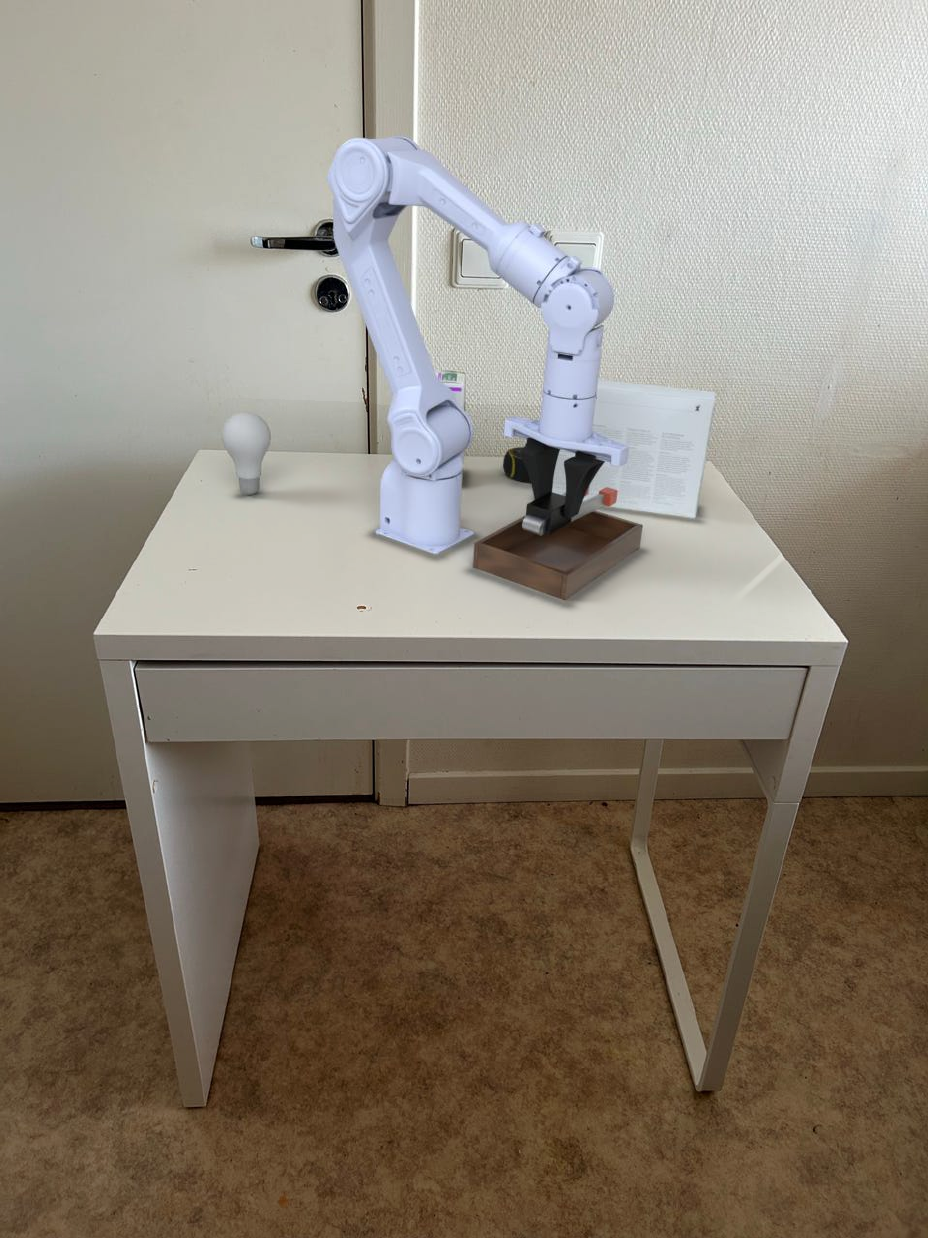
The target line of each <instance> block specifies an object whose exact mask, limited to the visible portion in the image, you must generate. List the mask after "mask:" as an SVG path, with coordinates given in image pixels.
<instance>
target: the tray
mask: <svg viewBox="0 0 928 1238" xmlns="http://www.w3.org/2000/svg"><path fill="white" fill-rule="evenodd" d="M525 516H526V514H525V515H523V516H521V517H520V518H518V519H516V520H514V521H512V522H511V523H509V524H507V525H504V526H503V527H501V528H499V529H498V530H496V531H493V532H492V533H491V534H488V535H487V536H485V537H483V538H481V539H479V540H477V541H475V542H474V544H473V557H472V559H473V560H472V568H474V569H476V570H479V571H482V572H485V573H488V574H490V575H493V576H495V577H498V578H501V579H505V580H506V581H509V582H513V583H514V584H518V585H521V586H524V587H526V588H529V589H532V590H534V591H537V592H540V593H543V594H544V595H545V594H546V595H548V596H551V597H553V598H557V599H559V600H562V601H566V600H567V599H569V598H570V597H572V596H573V595H575V594H577V593H578V592H579V591H581V590H582V589H583V588H585V587H586V586H588V585H589V584H590V583H592V582H594V581H595V580H597V578H599V577H601V576H602V575H603V574H605V573H606V572H608V571H609V570H611V569H612V568H613V567H615V566H617V565H618V564H619V563H620V562H622V561H623V560H625V559H626V558H628V557H629V556H631V555H632V554H634V553H635V552H636V551H638V550H639V549H640V547H641V540H642V534H643V533H642V532H643V529H644V528H643V527H644V526H643V524H641V523H638V522H635V521H630V520H628V519H625V518H621V517H619V516H615V515H612V514H609V513H605V512H602V511H598V510H595V511H593V512H591V513H589V514H587V515H584V516H582V517H580V518H578V519H576V520H574V521H572V522H570V523H569V524H567V525H565V526H563V527H562V528H560V529H558V530H557V531H555V532H553V533H552V534H550V535H547V534H544V535H542V536H540V535H537V534H534V533H531V532H528V531H525V530H523V528H522V523H523V520H524V518H525Z"/></svg>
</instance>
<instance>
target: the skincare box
mask: <svg viewBox="0 0 928 1238" xmlns="http://www.w3.org/2000/svg"><path fill="white" fill-rule="evenodd" d="M716 398H717V392H716V391H713V390H703V389H702V390H700V389H693V388H683V387H675V386H666V385H665V386H664V385H655V384H647V383H636V382H627V381H618V380H608V379H607V380H606V379H599V380H598V388H597V396H596V404H595V412H594V421H593V429H592V431H594V432H596V433H598V434H600V435H603V436H605V437H607V438H609V439H612V440H614V441H616V442H619V443H622V444H625V445H628V446H629V452H628V459H627V463H626V464H624V465H622V466H620V467H615V466H611V465H610V463H609V462H604V464H603V465H602V466H601V468H600V469H599V471H598V472H597V474H596V475H595V477H594V478H593V480H592V482H591V484H590V486H589V494H588V495H586V496H585V497H584V499H583V501H582V502H584V501H586V500H588V499H590V498H592V497H594V496H596V495H598V494H599V491H600V490H602V489H604V488H605V487H608V488H612V489H615V490H618V494H617V501H616V503H615V504H613V505H611V506H610V508H611V507H612V508H619V509H626V510H634V511H641V512H649V513H656V514H664V515H670V516H678V517H685V518H692V519H696V518H697V513H698V508H699V502H700V497H701V490H702V485H703V479H704V472H705V468H706V467H705V466H706V461H707V455H708V450H709V449H708V448H709V443H710V436H711V431H712V423H713V417H714V411H715V405H716ZM571 457H575V453H572V452H569V451H565V450H562V449H560V452H559V455H558V459H557V463H556V467H555V471H554V477H553V488H552V492H553V493H557V494H560V495H562V494H564V493H565V492H566V476H565V469H564V461H565V460H567V459H569V458H571Z"/></svg>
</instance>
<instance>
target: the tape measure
mask: <svg viewBox="0 0 928 1238" xmlns="http://www.w3.org/2000/svg"><path fill="white" fill-rule="evenodd" d="M523 447H524V446H519V447H518V446H517V447H512V448H509V449H508V450H507V451H506V452H505V455H504V456H503V461H502V467H503V471H504V473H505V475H506V476H507V477H509V478H511V479H513V480H515V481H519V482H524V483H531V480H530V477H529V474H528V471H527V469H526V466H525V464H524V462H523V460H522V458H521V457H520V449H521V448H523Z"/></svg>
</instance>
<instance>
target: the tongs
mask: <svg viewBox="0 0 928 1238" xmlns="http://www.w3.org/2000/svg"><path fill="white" fill-rule="evenodd" d="M588 494H589V488H588V490H587V492H586V494H585V496H586V495H588ZM617 494H618V490H615V489H612V488H608V487H605V488H604V489H602V490H600V491H599V494H598V495H596V496H594V497H592V498H590V499H588V500H586V501H584V502H582V504H581V507H580V510H579V513H578V515H576V516H574V517H572V518H571V519H568V518H565V517H564V505H565V497H566V492H565V493H564V494H562V495H560V494H557V493H553V492H549V493H547V494H545V495H543V496H541V497H539V498H537V499H535V500H534V499H533V500H532V501H530V502H527V503H526V507H525V515H526V516H525V515H524V516H525V518H524V520H523V523H522V528H523V530H525V531H528V532H531V533H534V534H537V535H540V536H542V535H544V534H547V535H550V534H552V533H553V532H555V531H557V530H558V529H560V528H562V527H563V526H565V525H567V524H569V523H570V522H572V521H574V520H576V519H578V518H580V517H582V516H584V515H587V514H589V513H591V512H593V511H598V509H601V508H602V507H608V508H609V507H610V508H611V505H613V504H615V503H616V501H617ZM585 496H584V497H585Z"/></svg>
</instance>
